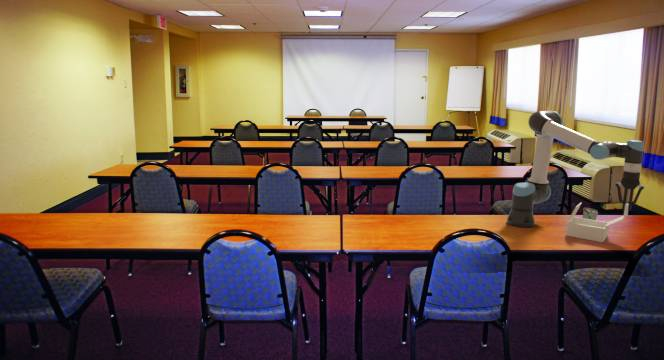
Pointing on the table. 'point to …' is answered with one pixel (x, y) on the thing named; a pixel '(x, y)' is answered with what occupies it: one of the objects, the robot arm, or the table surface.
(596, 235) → the carton
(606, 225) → the flap
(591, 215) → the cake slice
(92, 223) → the table surface
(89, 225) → the table surface
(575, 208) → the flap
